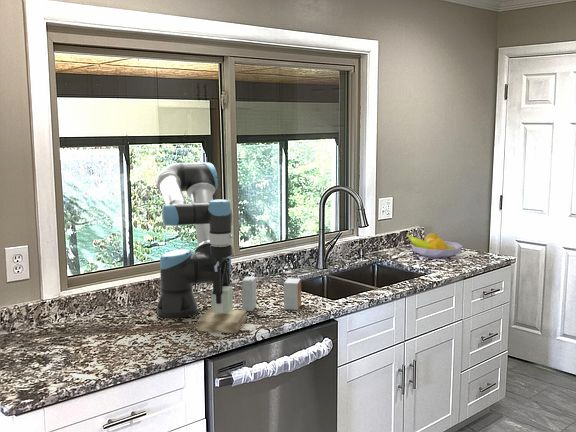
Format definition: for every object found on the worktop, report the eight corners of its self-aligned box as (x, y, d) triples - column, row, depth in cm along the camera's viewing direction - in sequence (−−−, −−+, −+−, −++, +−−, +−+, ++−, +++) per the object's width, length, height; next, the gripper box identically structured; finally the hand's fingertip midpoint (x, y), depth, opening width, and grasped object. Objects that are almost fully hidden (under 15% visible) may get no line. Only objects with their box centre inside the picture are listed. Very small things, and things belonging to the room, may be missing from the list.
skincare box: (245, 306, 237) (245, 275, 235) (257, 306, 236) (256, 276, 234) (241, 311, 231) (240, 280, 229) (252, 311, 230) (252, 280, 228)
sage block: (211, 312, 212) (211, 290, 210) (216, 307, 217) (215, 285, 216) (228, 313, 211) (227, 290, 209) (232, 308, 216) (232, 286, 215)
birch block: (197, 332, 209) (197, 321, 208) (209, 319, 223) (208, 308, 222) (237, 334, 207) (236, 322, 206) (246, 321, 220) (246, 310, 220)
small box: (297, 310, 231) (297, 283, 230) (283, 309, 232) (283, 282, 231) (301, 304, 239) (301, 278, 237) (287, 303, 240) (287, 277, 238)
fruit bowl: (467, 253, 330) (468, 232, 328) (452, 263, 307) (452, 241, 306) (417, 248, 345) (418, 228, 343) (399, 257, 322) (400, 236, 320)
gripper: (223, 250, 201) (225, 318, 204) (238, 239, 219) (239, 301, 223) (201, 249, 202) (203, 317, 205) (217, 239, 220) (219, 301, 224)
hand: (222, 309), depth 214 cm, fingers closed on sage block, 6 cm apart
